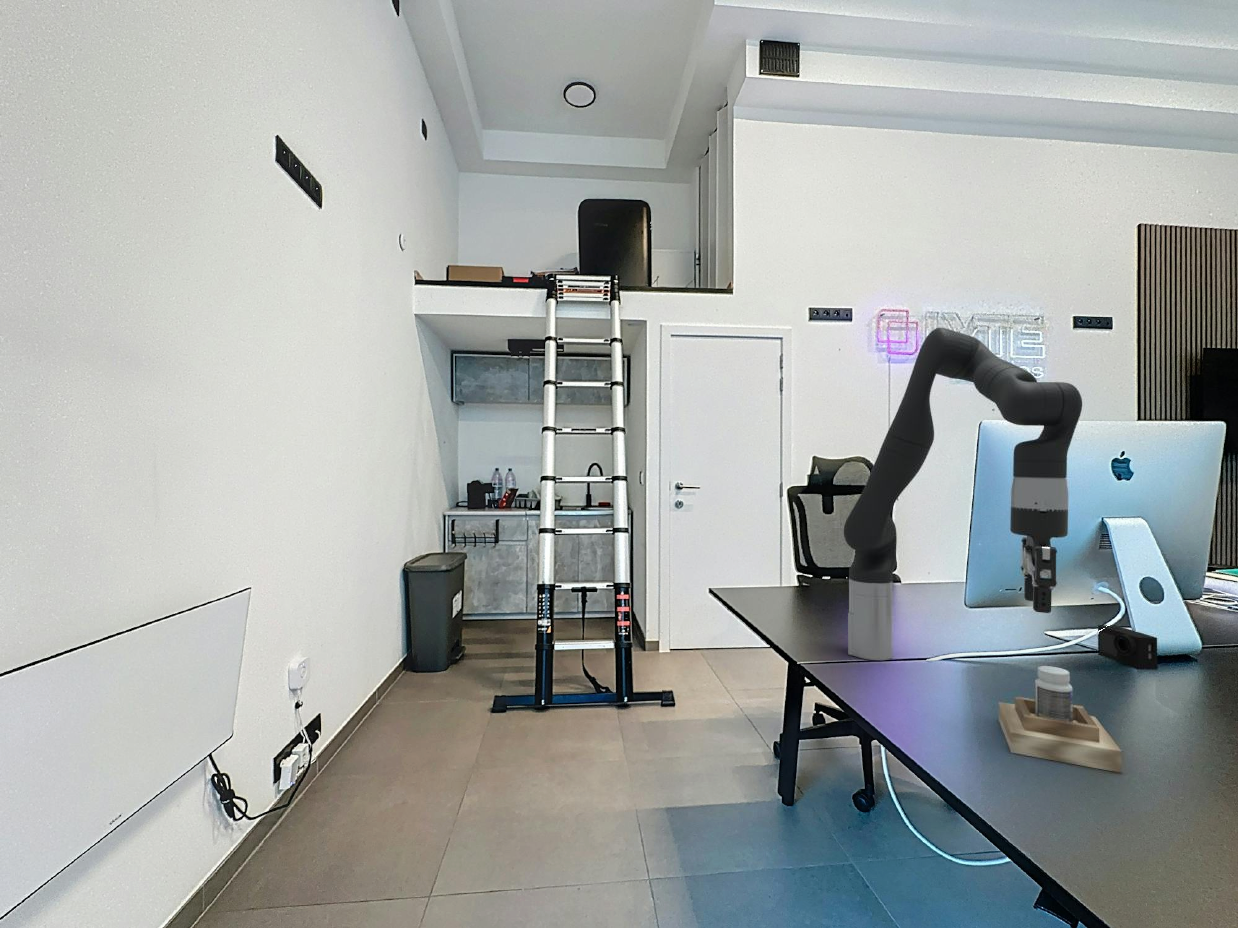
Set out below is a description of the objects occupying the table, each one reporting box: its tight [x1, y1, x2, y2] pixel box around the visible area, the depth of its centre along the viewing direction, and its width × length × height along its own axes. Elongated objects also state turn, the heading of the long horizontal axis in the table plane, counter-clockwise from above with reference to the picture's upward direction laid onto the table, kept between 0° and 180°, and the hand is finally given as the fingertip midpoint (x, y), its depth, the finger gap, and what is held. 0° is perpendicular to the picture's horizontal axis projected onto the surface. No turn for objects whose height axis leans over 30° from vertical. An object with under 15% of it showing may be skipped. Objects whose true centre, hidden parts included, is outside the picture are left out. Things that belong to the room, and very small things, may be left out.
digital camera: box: [1097, 624, 1158, 670], centre depth 130 cm, size 10×5×7 cm, turn 1°
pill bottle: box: [1034, 665, 1074, 722], centre depth 90 cm, size 5×5×8 cm
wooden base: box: [998, 696, 1123, 774], centre depth 90 cm, size 13×13×5 cm
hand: (1036, 606), depth 93 cm, fingers open, 8 cm apart
